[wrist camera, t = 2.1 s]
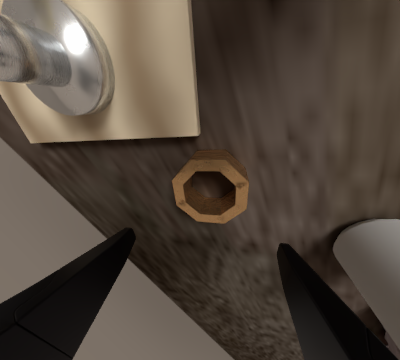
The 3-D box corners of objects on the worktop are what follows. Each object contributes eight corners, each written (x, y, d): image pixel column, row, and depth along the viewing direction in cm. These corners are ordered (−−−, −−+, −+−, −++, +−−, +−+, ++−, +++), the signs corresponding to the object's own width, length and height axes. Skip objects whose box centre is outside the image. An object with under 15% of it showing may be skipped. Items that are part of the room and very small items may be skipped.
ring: (247, 148, 13) (251, 159, 11) (242, 206, 16) (244, 225, 14) (179, 150, 15) (168, 160, 12) (186, 203, 18) (179, 219, 15)
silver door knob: (92, -9, 9) (-117, -181, 4) (126, 111, 13) (42, 116, 7) (14, 14, 11) (-222, -85, 5) (63, 117, 14) (-49, 124, 8)
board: (180, -154, 7) (171, -198, 6) (200, 133, 14) (197, 135, 12) (-62, -40, 11) (-92, -55, 10) (42, 140, 17) (30, 143, 16)
